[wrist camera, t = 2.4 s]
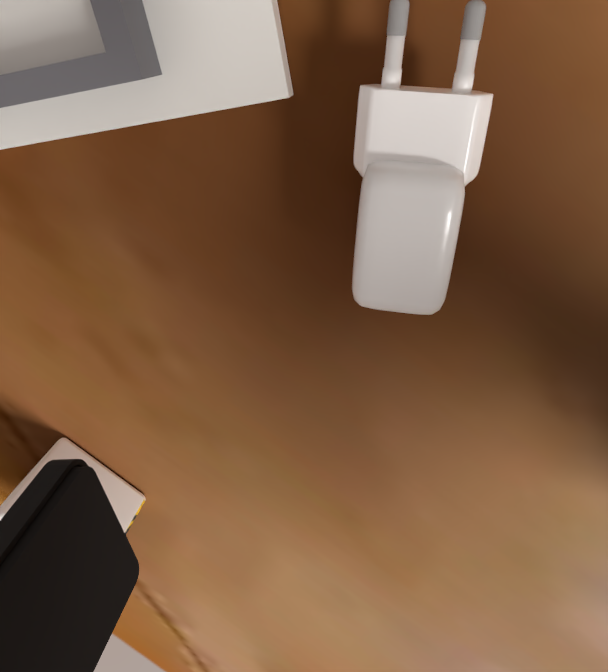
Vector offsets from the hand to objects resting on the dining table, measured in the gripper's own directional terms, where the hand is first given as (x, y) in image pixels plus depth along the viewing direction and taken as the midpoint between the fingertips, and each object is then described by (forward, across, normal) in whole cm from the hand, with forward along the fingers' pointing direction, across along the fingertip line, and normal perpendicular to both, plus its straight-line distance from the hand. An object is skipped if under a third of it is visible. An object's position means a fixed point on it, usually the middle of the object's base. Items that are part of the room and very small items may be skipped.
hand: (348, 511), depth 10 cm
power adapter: (+19, -1, -2) cm, 20 cm away
